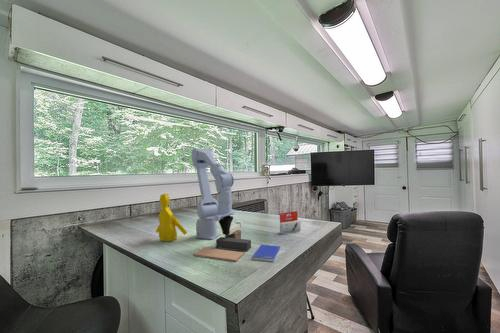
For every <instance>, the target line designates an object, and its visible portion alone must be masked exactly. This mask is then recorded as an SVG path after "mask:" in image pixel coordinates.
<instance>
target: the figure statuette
mask: <svg viewBox="0 0 500 333" xmlns="http://www.w3.org/2000/svg"><path fill="white" fill-rule="evenodd" d="M170 201H171V199H170V196H169V193H162V194H160V197H159V203H160V206H161V210H160V212H159V214H158V221H159V225H158V226H157V228H156V230H155V233H156V234H158V238H159V240H160V241H162V242H173V241H174V240H177V239H178V231H177V228H178V229H179V231H180V232H181V233H182V234H183V235H184V236H185V235H186V234H187V233H188V232H187V230H186V229H185V228H184V226H183V225H182V224H181V223H180V222H179V220H178V218H177V217H176V216H174V213H173V211H172V210H171V209H170V207H169V205H170Z"/></svg>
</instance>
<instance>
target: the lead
mask: <svg viewBox="0 0 500 333" xmlns="http://www.w3.org/2000/svg"><path fill="white" fill-rule="evenodd" d="M215 245H216V246H215V247H216V248H215V249H217V248H218V249H223V250H231V251H240V252H248V251H249V250H250V249H251V248H252V240H251V239H245V238H241V239H237V238H226V237H225V236H224V237H223V236H220V237H219V238H216V239H215Z"/></svg>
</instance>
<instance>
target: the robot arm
mask: <svg viewBox="0 0 500 333" xmlns="http://www.w3.org/2000/svg"><path fill="white" fill-rule="evenodd" d="M214 155H215V154H214V150H213V149H212V148H202V147H201V148H200V147H198V148H196V147H193V149H192V150H191V161H192V165H193V166H194V167H195V168H196V174H197V180H198V186H199V190H200V196H201V199H200V201H198V202H197V205H196V207H197V209H196V210H197V211H196V212H197V213H196V214H197V216H198V219H197V220H196V222H195V225H196V226H195V229H196V232H195V233H196V236H195V238H196V239H205V240H213V239H215V238H217V237H218V236H220V235H221V233H219V232H218V229H217V228H218V226H217V225H218V224H219V225H220V228H221V231H222V235H228V234H229V230H230V226H232V222H233V219H234V216H233V215H235V214H236V209H233V206H232V205H233V202H232V187H233V186H234V176H233V174H232V173H229V172H227V171H226V169H225V168H224V167H223V166H222V164H221V163H218V162H217V161H216V159H215V157H214ZM208 167H209V171H210V174H211V175H212V177H213V178H214V185H215V188H216V189H215V190H216V192H217V199H215V198H214V197H212V191H211V186H210V181H209V176H208V171H207V168H208ZM217 222H218V224H217ZM217 232H218V233H217Z"/></svg>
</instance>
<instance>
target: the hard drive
mask: <svg viewBox="0 0 500 333" xmlns="http://www.w3.org/2000/svg"><path fill="white" fill-rule="evenodd" d="M280 251H281V246H280V245H279V246H278V245H268V244H267V245H266V244H261V245H260V246H259V247H258V248H257V249H256V251H255V252H254V253H253V255H251V260H255V261H262V262H263V261H265V262H272V263H273V262H275V261H276V259H277V257H278V254H279V252H280Z"/></svg>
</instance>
